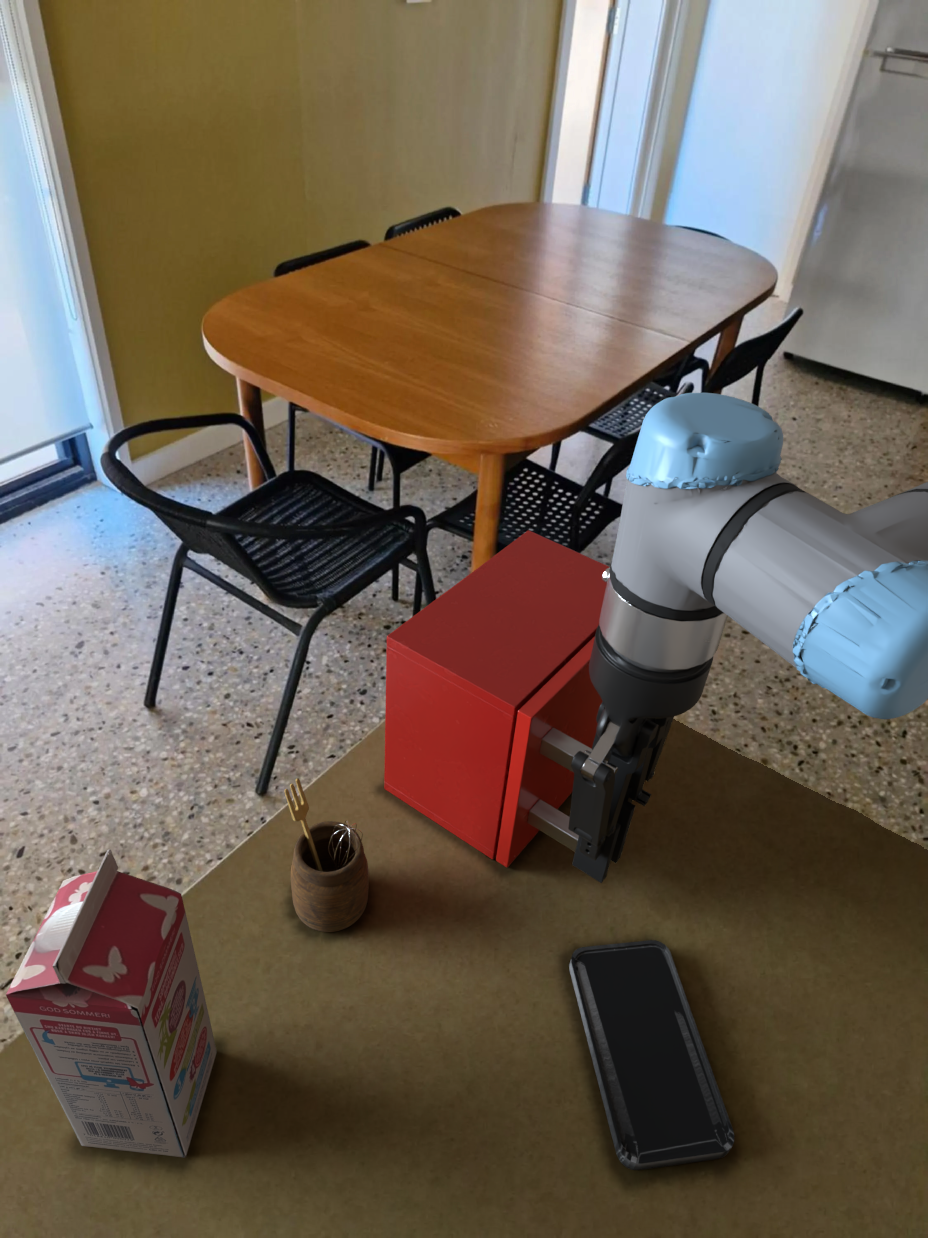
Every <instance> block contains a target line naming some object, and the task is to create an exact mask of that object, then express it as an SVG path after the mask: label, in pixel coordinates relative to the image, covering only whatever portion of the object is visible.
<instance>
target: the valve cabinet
mask: <svg viewBox="0 0 928 1238" xmlns="http://www.w3.org/2000/svg"><path fill="white" fill-rule="evenodd" d="M607 568H610V566H609V565H607V564H604V563H602V562H601V561H598V560H595V559H594V558H591V557H590V556H587V555H584V554H582V553H580V552H578V551H575V550H574V549H571V548H569V547H566V546H564V545H563V544H560V543H558V542H555V541H553V540H551V539H549V538H546V537H544V536H542V535H541V534H538V533H535V532H534V531H531V530H529V529H528V530H526V532H524V533H522V534H521V535H520V536H519V537H517V538H516V539H514V540H513V541H512V542H510V543H509V544H507V546H505V547H504V548H503V549H501V550H500V551H499V552H497V553H495V554H494V555H493V556H492V557H490V558H489V559H488V560H487V561H485V562H484V563H482V564H481V565H480V566H479V567H477V568H476V569H475V570H473V571H472V572H471V573H469V574H468V575H466V576H465V577H464V578H462V579H461V580H460V581H458V582H457V583H455V584H454V585H453V586H452V587H450V588H449V589H448V590H446V591H445V592H444V593H442V594H441V595H440V596H439V597H438V596H437V598H435V600H433V601H432V602H430V603H429V604H427V605H426V606H425V607H424V608H422V609H421V610H420V611H418V612H417V613H416V614H414V615H413V616H411V618H409V619H408V620H406V621H405V622H404V623H402V624H400V626H398V627H397V628H396V629H394V630H392V631H391V632H390V633H389V634H388V635H387V636H386V651H385V652H386V655H385V656H386V658H385V659H386V660H385V663H386V664H385V671H386V672H385V718H384V719H385V720H384V722H385V723H384V773H383V774H384V775H383V776H384V778H383V779H384V780H383V781H384V784H383V787H384V790H385V791H387V792H388V793H390V794H392V795H393V796H394V797H396V798H398V799H399V800H401V801H402V802H403V803H405V804H407V805H408V806H410V807H411V808H413V809H414V810H416V811H417V812H419V813H421V814H422V815H423V816H425V817H426V818H428V819H429V820H431V821H433V822H434V823H436V824H437V825H439V826H440V827H442V828H443V829H445V830H446V831H448V832H450V833H451V834H453V835H454V836H455V837H457V838H459V839H460V840H462V841H463V842H464V843H466V844H468V845H469V846H471V847H473V848H474V849H476V850H477V851H479V852H480V853H482V854H483V855H484V856H486V857H488V858H489V859H491V860H494V859H496V856H497V850H498V843H499V836H500V829H501V823H502V816H503V809H504V802H505V796H506V789H507V782H508V775H509V769H510V762H511V755H512V748H513V742H514V735H515V728H516V721H517V715H518V710H519V709H520V708H521V707H522V706H524V705H525V704H526V703H527V702H528V701H529V700H530V699H531V698H532V697H533V696H534V695H535V694H536V693H537V692H538V691H539V690H540V689H541V688H542V687H543V686H544V685H545V684H546V683H547V682H548V681H549V680H550V679H551V678H552V677H553V676H554V675H555V674H556V673H557V672H558V671H559V670H560V669H561V668H562V667H563V666H565V665H566V664H567V663H568V662H569V661H570V660H571V659H572V658H573V657H574V656H575V655H576V654H577V653H578V652H579V651H580V650H581V649H582V648H583V647H584V646H585V645H586V644H587V643H588V642H589V641H590V640H591V639H592V638H593V637H594V636H595V634H596V630H597V627H598V625H599V620H600V614H601V609H602V605H603V600H604V595H605V591H606V586H607V583H606V582H604V581H603V579H602V574H603V573H604V572H605V570H606V569H607Z"/></svg>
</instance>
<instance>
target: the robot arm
mask: <svg viewBox="0 0 928 1238" xmlns="http://www.w3.org/2000/svg"><path fill="white" fill-rule="evenodd" d="M783 445H784V433H783V429H782V427H781V426H780V425H779V424H778V422H777V421H774V420H773V416H772V415H771V414H770V413H769V412H768V411H766V410H765V409H763V408H762V407H760V406H758V405H756V404H755V403H752V402H749V401H747V400H745V399H741V398H739V397H735V396H730V395H725V394H720V393H712V392H686V393H681V394H679V395H676V396H671V397H666V398H664V399H663V400H660V401H659V402H657V403H655V404H654V405H653V406H652V407H651V408H650V409H649V410H648V412H647V413H646V414H645V416H644V418H643V420H642V424H641V426H640V430H639V434H638V437H637V440H636V444H635V447H634V451H633V455H632V458H631V461H630V465H629V466H628V467H627V469H626V475H625V478H626V482H625V489H624V494H623V499H622V506H621V510H620V511H621V513H620V518H619V524H618V529H617V534H616V539H615V544H614V549H613V553H612V556H611V562H610V566H609V567H610V568H607V569H606V570H605V572H604V573H603V574H602V579H603V581H604V582H606V583H607V586H606V591H605V595H604V600H603V605H602V609H601V614H600V620H599V625H598V627H597V630H596V634H595V639H594V644H593V648H592V653H591V658H590V663H589V675H590V679H591V682H592V684H593V686H594V687H595V689H596V691H597V692H598V694H599V695H600V697H601V699H602V701H603V702H602V703H601V705H600V707H599V710H598V714H597V718H596V721H597V728H596V735H595V738H594V742H593V746H592V752H590V751H588V750H585V751H584V753H583V752H582V751H578V752H577V753H576V754H575V755H574V757H573V759H572V764H571V767H572V770H573V772H574V782H573V791H572V793H571V800H570V801H571V802H570V809H569V817H570V818H569V827H568V829H569V830H570V831H572V832H574V833H575V834H577V835H579V838H578V842H577V846H576V850H575V852H574V854H573V859H572V864H571V866H573V867H575V868H577V870H580V871H581V872H583V873H584V874H586V875H587V876H589V877H590V878H592V879H594V880H595V881H597V882H598V883H600V884H602V883H604V881H605V879H606V878H607V876H608V872H609V869H610V865H611V862H612V863H614V864H617V863H618V862H619V860H620V859H621V858H622V854H623V851H624V847H625V843H626V840H627V836H628V834H629V830H630V826H631V823H632V819H633V816H634V813H635V808H636V804H639V805H641V806H642V807H646V805H647V804H648V803H649V801H650V799H651V797H652V793H650V792H649V791H646V790H644V786H645V782H649V781H650V780H652V779H653V778H654V776H655V771H656V769H657V765H658V762H659V760H660V757H661V755H662V752H663V749H664V746H665V743H666V740H667V738H668V736H669V735H668V734H669V732H670V729H671V727H672V724H673V721H674V719H675V717H677V716H680V715H683V714H684V713H687V712H688V711H690V710H691V709H693V707H695V706H696V705H697V704H698V702H699V701H700V699H701V698H702V695H703V692H704V689H705V686H706V683H707V680H708V678H709V674H710V670H711V667H712V665H713V661H714V655H715V654H716V653H717V651H718V650H719V645H720V643H721V640H722V636H723V633H724V629H725V627H726V623H727V620H728V617H729V618H730V619H732V621H734V622H735V623H736V624H738V625H739V626H740V627H742V628H743V629H744V630H746V631H747V632H748V633H749V634H751V635H752V636H753V637H754V638H756V639H757V640H759V641H760V642H761V643H762V644H764V645H765V646H766V647H768V648H769V649H770V650H772V651H773V652H774V653H776V654H777V655H778V656H779V657H781V658H782V659H783V660H785V661H786V662H787V663H789V664H790V665H792V666H793V667H794V668H795V669H796V670H797V671H799V673H800V675H801V676H802V677H804V678H805V679H807V680H808V682H810V683H811V684H813V685H818V686H820V687H821V688H822V689H826V690H827V691H829V692H830V693H832V694H834V695H835V696H836V697H838V698H839V699H841V700H843V701H844V702H846V703H847V704H849V705H850V706H852V707H853V708H855V709H857V710H858V711H860V712H861V713H863V714H864V715H865V716H867V717H871V718H873V719H879V720H893V719H897V718H900V717H902V716H906V715H908V714H910V713H912V712H913V711H915V710H916V709H918V708H919V707H921V706H922V705H923V704H924V703H926V702H927V700H928V481H926V482H924V483H921V484H919V485H916V486H914V487H912V488H910V489H908V490H905V491H903V492H900V493H897V494H895V495H893V496H890V497H888V498H886V499H883V500H881V501H878V502H876V503H873V504H870V505H868V506H866V507H863V508H860V509H858V510H856V511H853V512H852V513H845V512H842V511H840V510H838V509H837V508H835V507H833V506H832V505H830V504H828V503H827V502H826V501H823V500H822V499H819V498H818V497H816V496H814V495H813V494H811V493H809V492H807V491H805V490H803V489H801V488H800V487H799V486H798V485H796V484H794V483H793V482H792V481H790V480H787V479H786V478H784V477H782V476H781V474H778V473H777V472H778V471H779V470H780V465H781V462H782V460H783V458H782V455H781V454H782V449H783ZM633 802H635V803H636V804H633Z"/></svg>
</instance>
